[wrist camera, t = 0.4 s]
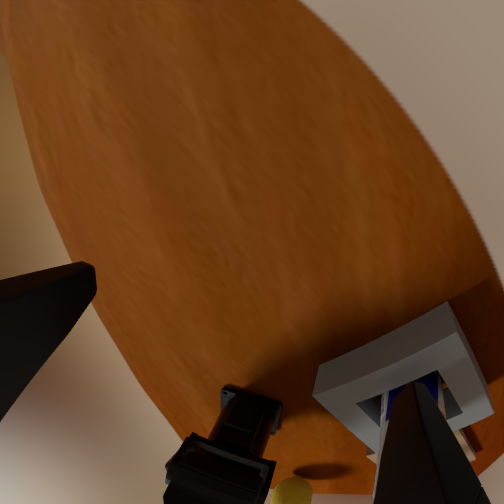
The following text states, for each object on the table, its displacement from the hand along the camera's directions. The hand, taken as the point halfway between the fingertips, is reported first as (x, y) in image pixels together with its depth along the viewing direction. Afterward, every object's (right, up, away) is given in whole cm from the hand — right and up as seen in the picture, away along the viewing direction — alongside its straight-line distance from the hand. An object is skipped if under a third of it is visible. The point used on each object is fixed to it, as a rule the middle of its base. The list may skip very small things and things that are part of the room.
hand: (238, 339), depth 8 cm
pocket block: (+14, -9, +16) cm, 23 cm away
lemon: (+7, -30, +29) cm, 42 cm away
